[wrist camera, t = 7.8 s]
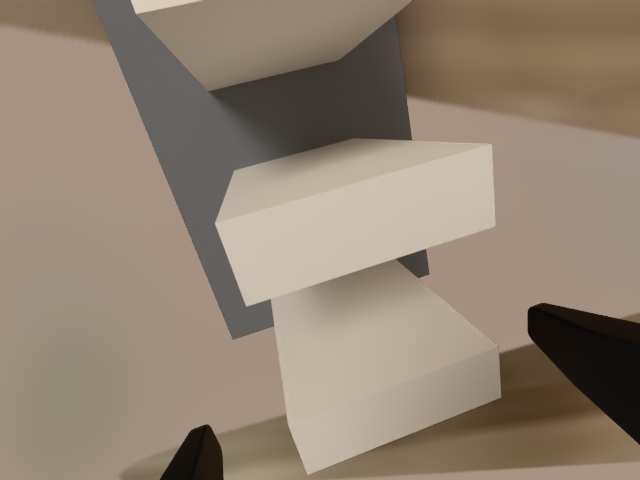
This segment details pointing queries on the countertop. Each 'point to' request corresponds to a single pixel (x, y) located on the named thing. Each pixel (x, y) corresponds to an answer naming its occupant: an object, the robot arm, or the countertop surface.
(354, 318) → the domino
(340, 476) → the countertop surface
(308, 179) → the domino
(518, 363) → the countertop surface
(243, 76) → the domino
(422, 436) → the countertop surface
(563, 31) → the countertop surface
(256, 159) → the rubber mat
